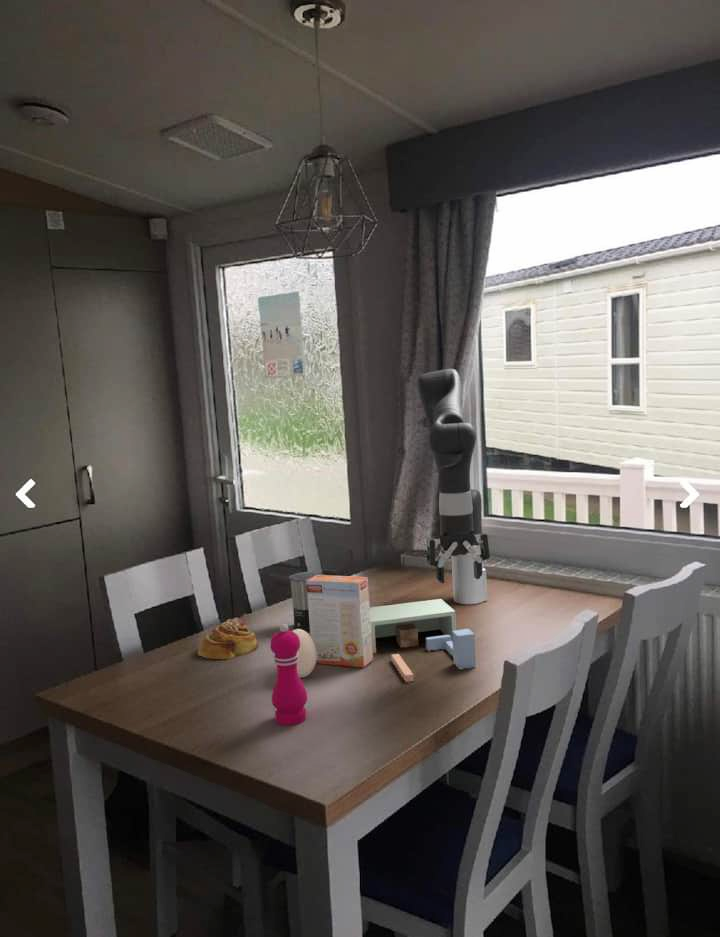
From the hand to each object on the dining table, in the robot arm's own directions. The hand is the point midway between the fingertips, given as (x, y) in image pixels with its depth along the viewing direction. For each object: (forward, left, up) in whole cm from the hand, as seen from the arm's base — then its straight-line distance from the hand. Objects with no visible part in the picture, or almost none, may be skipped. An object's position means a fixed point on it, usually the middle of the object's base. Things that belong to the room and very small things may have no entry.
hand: (459, 580), depth 184 cm
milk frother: (+26, -44, -21) cm, 55 cm away
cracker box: (+26, -13, -21) cm, 36 cm away
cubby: (+7, -22, -20) cm, 31 cm away
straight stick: (+14, -2, -21) cm, 25 cm away
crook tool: (+1, -6, -20) cm, 21 cm away
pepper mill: (+42, +15, -21) cm, 49 cm away
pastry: (+53, -33, -21) cm, 66 cm away
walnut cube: (+8, -19, -20) cm, 29 cm away
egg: (+37, -7, -21) cm, 43 cm away
